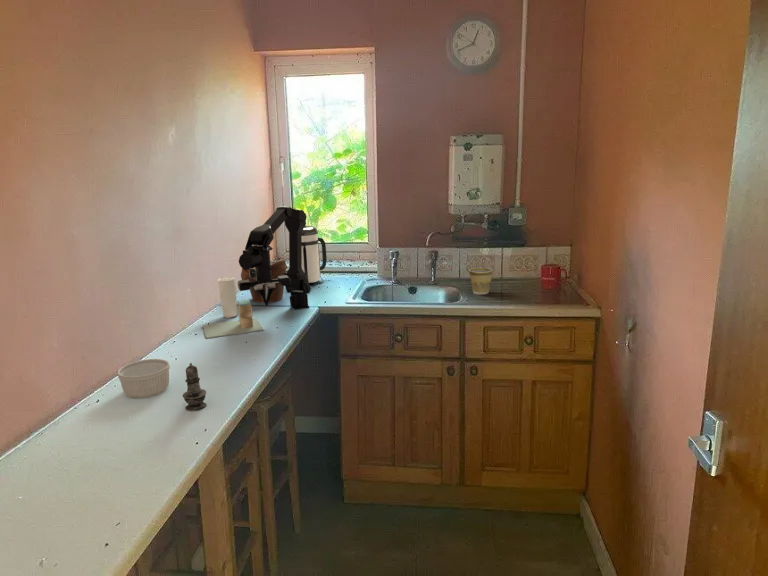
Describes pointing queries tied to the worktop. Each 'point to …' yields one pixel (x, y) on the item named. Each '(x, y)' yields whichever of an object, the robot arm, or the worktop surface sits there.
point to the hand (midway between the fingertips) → (266, 305)
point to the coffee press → (312, 254)
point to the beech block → (245, 313)
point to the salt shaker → (194, 390)
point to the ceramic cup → (480, 280)
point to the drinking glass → (228, 296)
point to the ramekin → (144, 378)
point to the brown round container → (276, 270)
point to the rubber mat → (230, 328)
